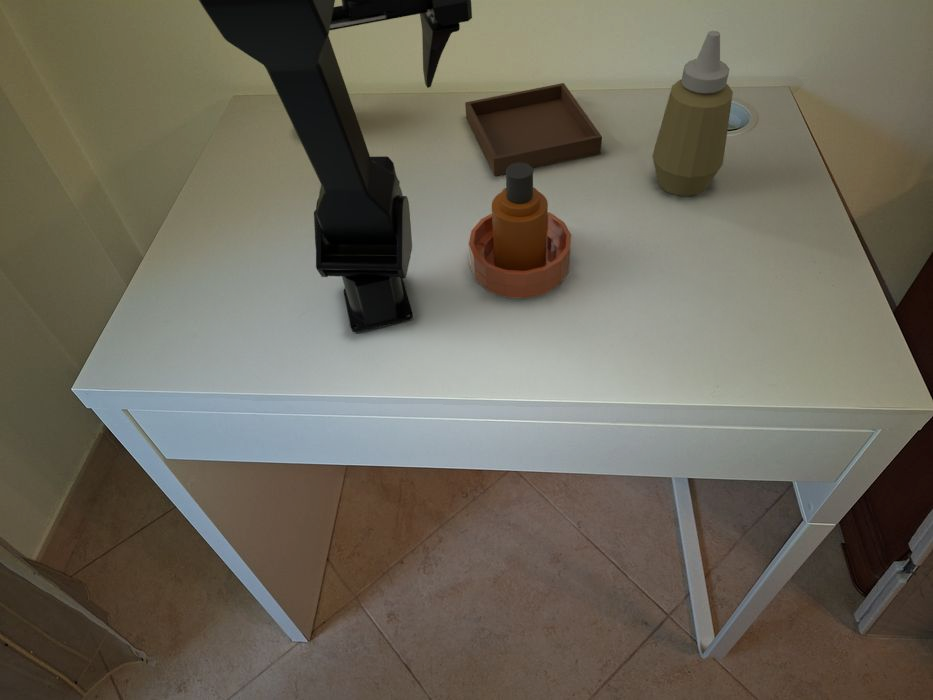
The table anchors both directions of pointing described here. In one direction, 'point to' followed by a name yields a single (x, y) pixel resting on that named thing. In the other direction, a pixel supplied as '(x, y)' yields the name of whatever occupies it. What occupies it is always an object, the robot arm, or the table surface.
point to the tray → (532, 128)
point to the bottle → (519, 222)
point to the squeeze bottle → (695, 124)
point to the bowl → (513, 280)
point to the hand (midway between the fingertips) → (386, 94)
